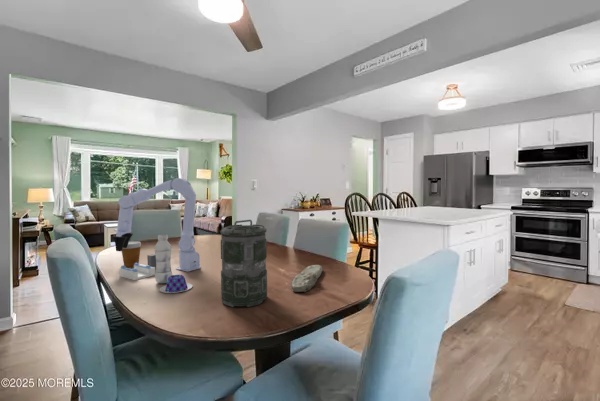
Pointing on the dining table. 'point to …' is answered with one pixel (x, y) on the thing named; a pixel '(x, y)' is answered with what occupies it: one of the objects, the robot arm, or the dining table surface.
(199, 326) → the dining table surface
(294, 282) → the long grey stone
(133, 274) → the white blue cradle
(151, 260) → the cord plug
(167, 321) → the dining table surface
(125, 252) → the disposable coffee cup
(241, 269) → the canister
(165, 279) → the plastic bottle
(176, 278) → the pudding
